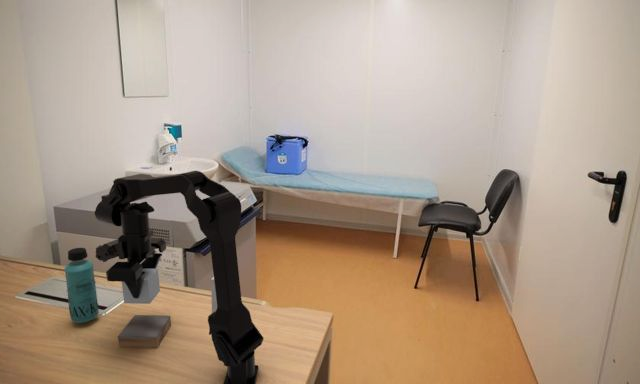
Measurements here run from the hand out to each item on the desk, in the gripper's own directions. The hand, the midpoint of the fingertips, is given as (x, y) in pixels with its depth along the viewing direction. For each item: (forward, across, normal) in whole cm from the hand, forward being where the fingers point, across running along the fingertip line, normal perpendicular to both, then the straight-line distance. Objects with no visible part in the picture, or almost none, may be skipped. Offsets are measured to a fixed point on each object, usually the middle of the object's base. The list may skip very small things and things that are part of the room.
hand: (142, 291), depth 95 cm
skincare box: (+12, -10, +17) cm, 23 cm away
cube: (+2, 0, 0) cm, 2 cm away
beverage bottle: (+12, -6, -18) cm, 23 cm away
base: (+12, 0, 0) cm, 12 cm away
